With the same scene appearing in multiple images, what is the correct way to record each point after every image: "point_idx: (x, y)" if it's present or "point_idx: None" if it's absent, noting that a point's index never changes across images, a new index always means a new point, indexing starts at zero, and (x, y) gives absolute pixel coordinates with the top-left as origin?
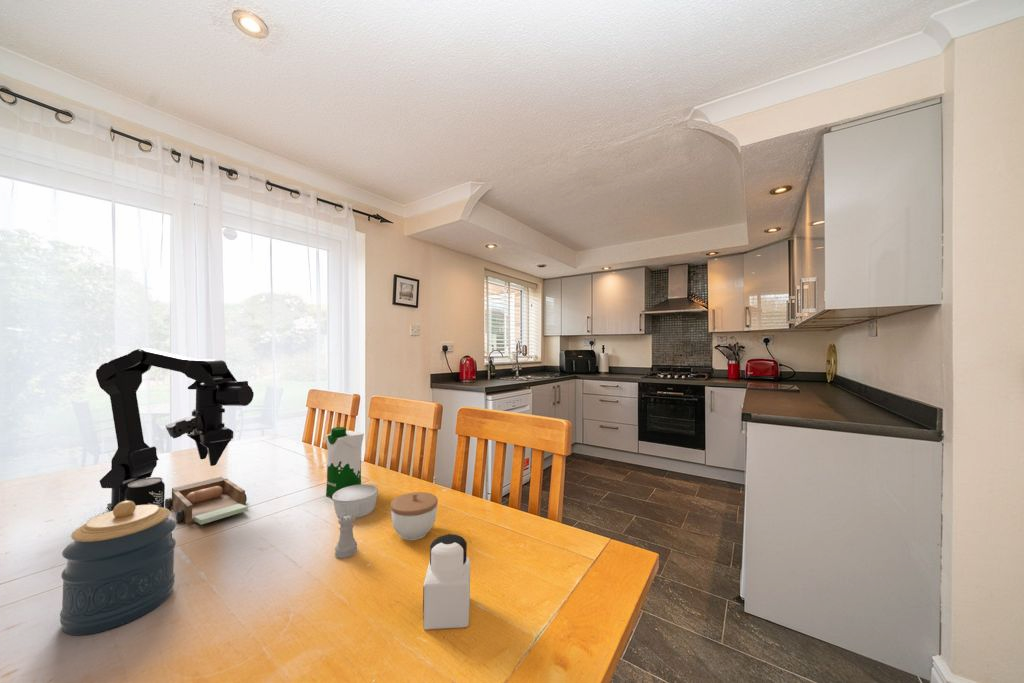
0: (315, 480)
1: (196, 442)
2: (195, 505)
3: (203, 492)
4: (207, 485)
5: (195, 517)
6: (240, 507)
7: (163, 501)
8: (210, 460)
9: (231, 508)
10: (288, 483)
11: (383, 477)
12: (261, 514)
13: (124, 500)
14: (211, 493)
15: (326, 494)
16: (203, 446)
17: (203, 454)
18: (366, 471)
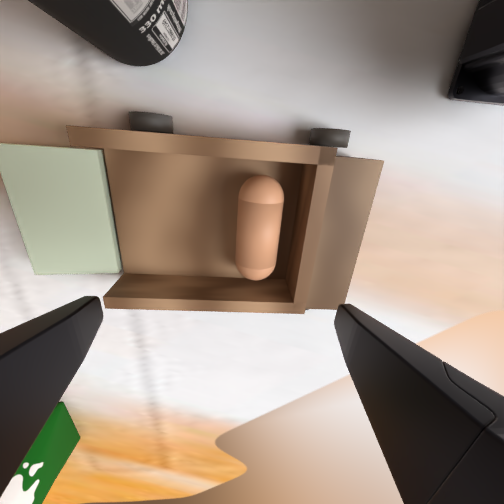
0: (193, 421)
1: (477, 422)
2: (233, 192)
3: (243, 227)
4: (299, 256)
5: (74, 148)
6: (47, 260)
7: (36, 5)
8: (33, 319)
9: (69, 243)
10: (227, 387)
11: (93, 485)
12: (36, 284)
13: (501, 4)
14: (236, 245)
15: (57, 405)
16: (395, 401)
17: (350, 338)
18: (160, 483)
